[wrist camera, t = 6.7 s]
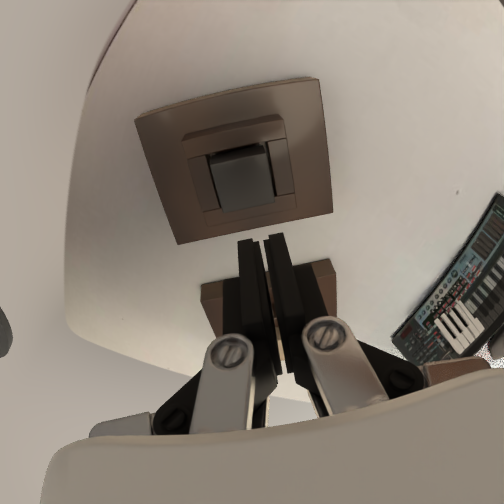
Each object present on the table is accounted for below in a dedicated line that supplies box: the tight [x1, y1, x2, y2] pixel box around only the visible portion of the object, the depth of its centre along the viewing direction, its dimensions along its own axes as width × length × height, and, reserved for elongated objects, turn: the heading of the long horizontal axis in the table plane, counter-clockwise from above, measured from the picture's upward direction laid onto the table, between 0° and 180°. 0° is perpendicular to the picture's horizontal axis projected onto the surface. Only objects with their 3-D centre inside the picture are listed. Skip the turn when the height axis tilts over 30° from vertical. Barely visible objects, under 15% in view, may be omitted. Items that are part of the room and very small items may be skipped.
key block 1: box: [134, 77, 333, 245], centre depth 20 cm, size 12×10×4 cm
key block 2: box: [200, 259, 337, 338], centre depth 30 cm, size 12×10×4 cm
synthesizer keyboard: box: [392, 194, 504, 366], centre depth 28 cm, size 22×10×10 cm
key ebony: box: [210, 145, 275, 213], centre depth 18 cm, size 3×3×2 cm
